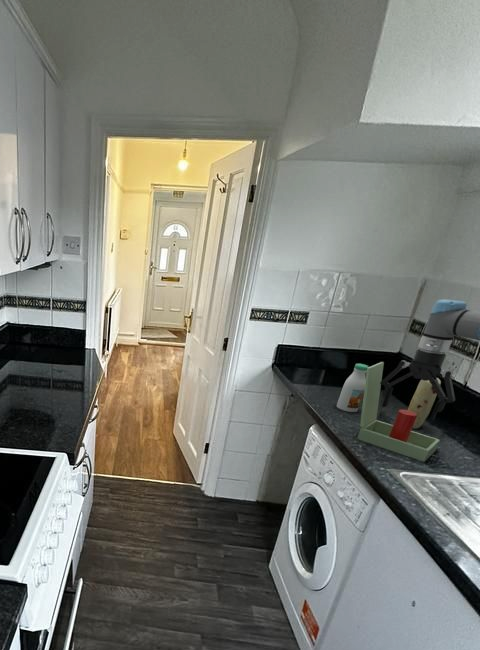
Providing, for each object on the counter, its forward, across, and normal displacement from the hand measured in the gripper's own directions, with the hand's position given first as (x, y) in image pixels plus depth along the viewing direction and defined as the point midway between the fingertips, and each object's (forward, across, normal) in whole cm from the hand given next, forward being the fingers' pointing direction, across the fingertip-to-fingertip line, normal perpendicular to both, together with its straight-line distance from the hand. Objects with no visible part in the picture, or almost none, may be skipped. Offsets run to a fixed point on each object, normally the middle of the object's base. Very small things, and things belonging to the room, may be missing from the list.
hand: (407, 412), depth 138 cm
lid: (-3, -11, 0) cm, 12 cm away
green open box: (+13, 0, 0) cm, 13 cm away
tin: (+12, 0, 0) cm, 12 cm away
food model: (+13, -2, +27) cm, 30 cm away
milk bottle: (+13, -24, +21) cm, 34 cm away
